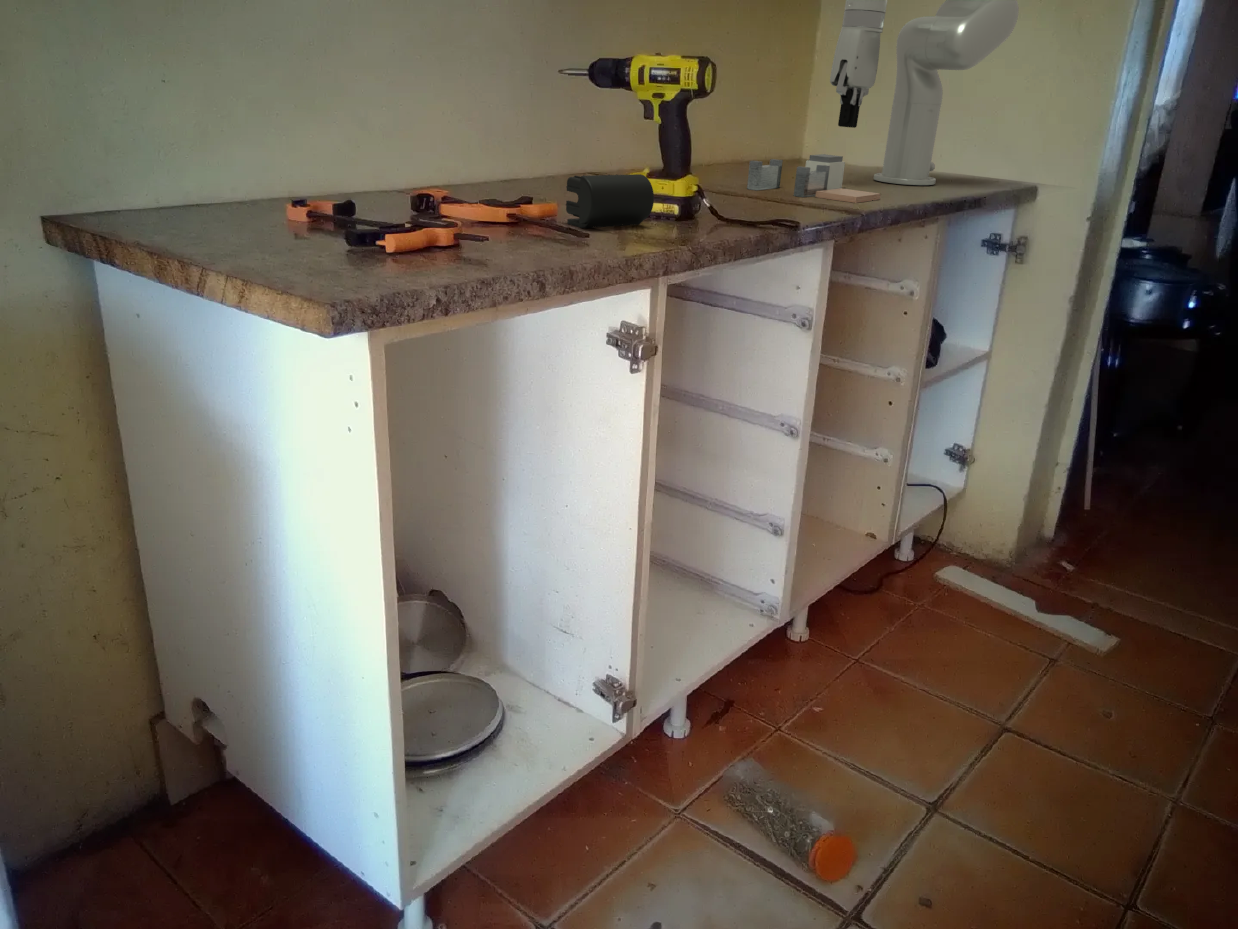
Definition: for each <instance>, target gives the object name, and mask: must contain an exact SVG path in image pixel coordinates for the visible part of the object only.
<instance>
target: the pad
mask: <svg viewBox="0 0 1238 929" xmlns="http://www.w3.org/2000/svg"><path fill="white" fill-rule="evenodd" d="M881 195H882V194H881V193H877V192H871V191H865V190H863V191H862V190H856V189H850V188H840V189H831V190H823V191H816V196H815V198H817V199H818V198H820V199H825V200H833V201H838V202H839V201H840V202H846V203H853V204H859V203H863V202H864V203H865V202H871V201H872V200H873V201H877V200H878V201H879V199H881Z"/></svg>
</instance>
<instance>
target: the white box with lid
mask: <svg viewBox="0 0 1238 929" xmlns="http://www.w3.org/2000/svg"><path fill="white" fill-rule="evenodd" d="M843 157H844V156H841V155H836V154H835V155H833V154H825V153H824V154H823V153H821V154H810V155H809V158H808V159H809V160H806V161H805V167H810V171H816V167H817V165H826V166H830V169H829V176H828V184H827V190H831V189H840V188H842V187H843V182H844V180H843V179H844V173H845V166H846V165H845V164H846V162H845V161H843V159H844V158H843ZM842 189H843V188H842Z"/></svg>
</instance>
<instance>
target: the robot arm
mask: <svg viewBox="0 0 1238 929" xmlns="http://www.w3.org/2000/svg"><path fill="white" fill-rule="evenodd" d="M887 7H888V0H845V4H844V12H843V18H842V25H841V29H840V33H839V35H838V39H837V42H836V46H835V51H834V55H833V58H832V59H833V60H832V66H831V71H830V76H829V77H830V78H829V82H830V84H831V86H833V87H835V88H836V89H835V92H836V93H837V94H838V95H840V99H839V100H840V101H839V104H840V109H839V115H838V123H837V125H838V127H841V128H854V129H855V128H857V126H858V120H859V114H860V107H861V105H862V102H863V100H864V97H866V96H868V95H869V92H870V91H869V89H871V88H873V86H874V85H875V83H876V79H877V73H878V66H879V58H880V48H881V34H883V31H884V30H883V29H884V25H885V19H886V12H887ZM1019 9H1020V8H1019V3H1018V0H944V1H943V2H942V4H941V5H940V7H939V8H937V11H936V13H935V16H933V15H932V16H921V17H920V16H919V17H915V18H913V19H911V20H909V21H907V22H905V24H904V25H902V26H903V27H901V29H900V31H899V33H898V36H897V39H896V46H895V48H896V77H895V86H894V95H893V100H892V105H891V112H890V119H889V124H888V132H887V139H886V145H885V152H884V158H883V163H882V164H883V165H882V172H878V173H874V175H873V180H874V181H877V182H880V183H881V182H882V183H889V184H897V185H908V186H934V185H935V184H936V178H935V177H932V176H930V172H933V171H934V170H935V168H936V164H935V163H934V162H933V161H932V158H933V154H934V149H935V148H934V147H935V141H936V135H937V129H938V124H939V118H940V114H941V113H940V112H941V107H942V104H943V103H942V102H943V94H944V90H943V84H942V81H941V78H940V75H939V73H938V72H939V71H938V70H941V71H943V70H944V71H945V70H946V71H965V70H969V69H972V68H974V67H976V66H977V65H978V64H979V63H980V62H982V61H983V60H985V59H986V58H987V57H988V56H989V55H991V54H992V53H993V52H994V51H996V49H998V48H999V47H1000V46H1001V45H1002V44H1004V42H1005V41H1007V39H1008V38H1010V36H1011V34H1012V33H1013V31H1014V29H1015V27H1016V25H1017V22H1018V18H1019V14H1020V11H1019Z"/></svg>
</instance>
